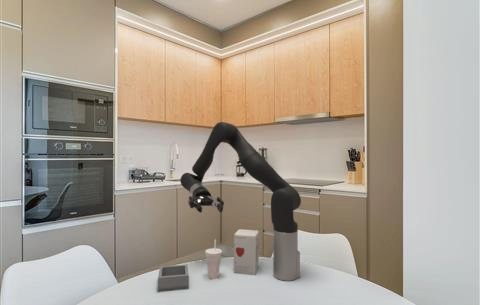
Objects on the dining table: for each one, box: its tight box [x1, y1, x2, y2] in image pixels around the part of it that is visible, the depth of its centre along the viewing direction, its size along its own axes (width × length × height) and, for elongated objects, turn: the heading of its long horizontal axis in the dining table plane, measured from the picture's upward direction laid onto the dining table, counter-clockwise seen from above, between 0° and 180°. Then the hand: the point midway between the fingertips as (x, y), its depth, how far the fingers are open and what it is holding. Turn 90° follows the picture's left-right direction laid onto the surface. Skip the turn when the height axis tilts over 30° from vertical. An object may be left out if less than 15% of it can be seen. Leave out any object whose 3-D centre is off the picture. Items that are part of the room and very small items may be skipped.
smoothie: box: [204, 238, 223, 280], centre depth 98 cm, size 6×6×14 cm
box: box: [157, 263, 190, 293], centre depth 92 cm, size 10×10×4 cm
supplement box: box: [233, 228, 260, 276], centre depth 105 cm, size 9×9×15 cm
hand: (211, 210), depth 103 cm, fingers open, 8 cm apart
